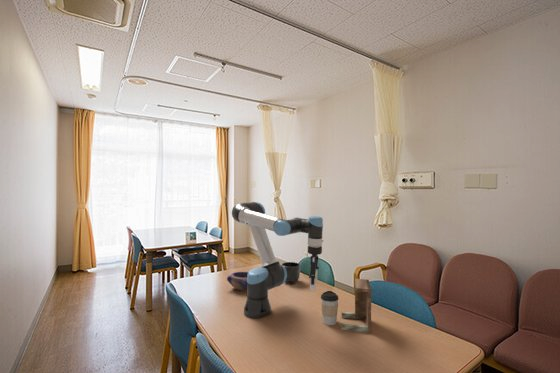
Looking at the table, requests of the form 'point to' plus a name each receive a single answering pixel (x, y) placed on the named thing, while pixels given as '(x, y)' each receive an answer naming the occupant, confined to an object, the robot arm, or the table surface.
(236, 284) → the bowl
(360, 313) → the wooden bookend
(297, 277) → the planter
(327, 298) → the coffee cup
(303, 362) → the table surface
